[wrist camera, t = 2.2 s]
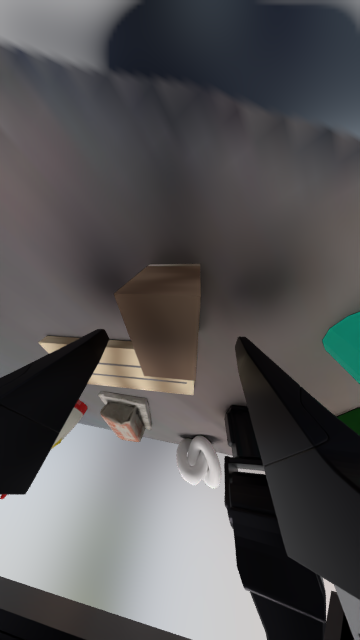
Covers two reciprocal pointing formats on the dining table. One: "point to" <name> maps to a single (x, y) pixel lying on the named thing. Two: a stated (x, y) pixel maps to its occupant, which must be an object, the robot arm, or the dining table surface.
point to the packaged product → (126, 415)
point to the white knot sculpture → (198, 462)
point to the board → (122, 368)
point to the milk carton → (352, 420)
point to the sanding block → (163, 318)
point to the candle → (345, 344)
